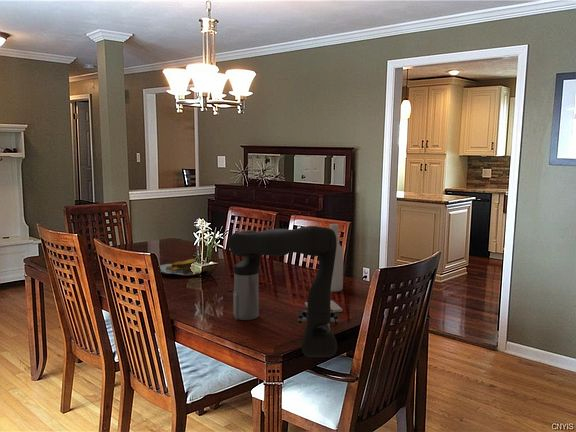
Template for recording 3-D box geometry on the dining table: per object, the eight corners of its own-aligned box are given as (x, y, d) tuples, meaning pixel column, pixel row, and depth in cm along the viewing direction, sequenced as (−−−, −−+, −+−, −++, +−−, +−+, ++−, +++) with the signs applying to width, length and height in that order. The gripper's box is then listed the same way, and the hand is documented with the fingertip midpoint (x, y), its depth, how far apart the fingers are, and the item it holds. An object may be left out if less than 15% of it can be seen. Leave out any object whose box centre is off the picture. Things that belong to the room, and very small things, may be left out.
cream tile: (313, 313, 205) (313, 311, 205) (304, 304, 216) (304, 302, 216) (342, 311, 208) (342, 309, 208) (332, 302, 219) (332, 300, 219)
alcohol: (320, 287, 242) (321, 223, 238) (337, 286, 245) (338, 222, 241) (328, 292, 234) (329, 226, 230) (346, 291, 237) (347, 225, 233)
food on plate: (160, 267, 279) (159, 255, 278) (207, 266, 283) (207, 254, 282) (154, 280, 254) (154, 266, 253) (206, 278, 258) (206, 265, 257)
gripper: (340, 315, 173) (337, 300, 189) (297, 314, 174) (298, 300, 190) (339, 337, 174) (337, 320, 191) (296, 336, 175) (298, 319, 191)
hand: (317, 310), depth 190 cm, fingers open, 8 cm apart
